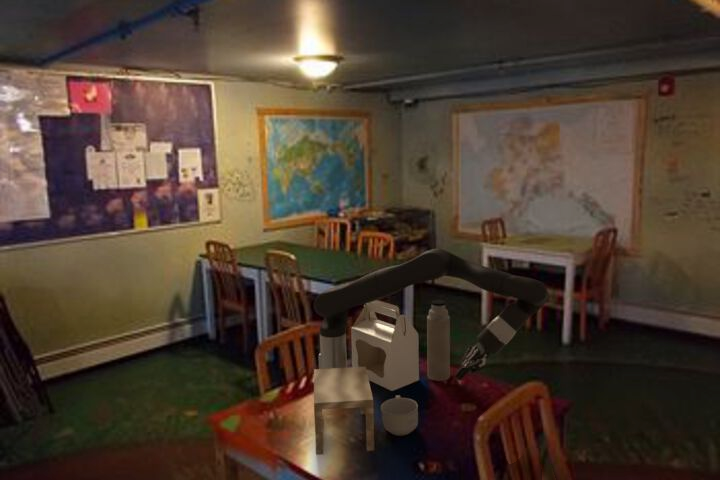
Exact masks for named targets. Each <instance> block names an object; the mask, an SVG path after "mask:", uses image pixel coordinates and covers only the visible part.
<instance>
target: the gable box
mask: <svg viewBox="0 0 720 480" xmlns="http://www.w3.org/2000/svg"><path fill="white" fill-rule="evenodd" d="M376 313H378V314H380V315H384V316H387V317H390V318H393V319H395V324H392V323H389V322H386V321H382V320H380V319H378V318H377V314H376ZM350 331H351V332H350V335H351V338H350V340H351V364H352V366H351V367H366V371H367V375H368V379H369V382H371V383H374V384H376V385H379V386H380V387H383V388H385V389H387V390H389V391H391V392H393V391H395V390H398V389H401V388H403V387H405V386H408V385H411V384H413V383H416V382H418V381H420V367H419V365H420V361H419V360H420V357H419V354H420V353H419V347H420V346H419V333H418V331H417V329H415V327H414V325H412V323H411V322H410V320H409V319H408V317H407V316H406V315H404V314H401V308H400V306H398V305H396V304H392V303H388V302H385V301H382V300H380V299H379V300H376V301H372V302H369V303H365V304H363V308H362V309H361V311H360V313H359V314H358V315H357V318H356V319H355V321H354V323H353V324H352V326H351V328H350Z"/></svg>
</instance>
